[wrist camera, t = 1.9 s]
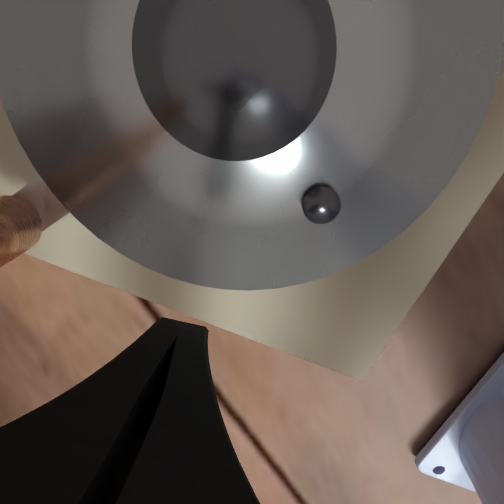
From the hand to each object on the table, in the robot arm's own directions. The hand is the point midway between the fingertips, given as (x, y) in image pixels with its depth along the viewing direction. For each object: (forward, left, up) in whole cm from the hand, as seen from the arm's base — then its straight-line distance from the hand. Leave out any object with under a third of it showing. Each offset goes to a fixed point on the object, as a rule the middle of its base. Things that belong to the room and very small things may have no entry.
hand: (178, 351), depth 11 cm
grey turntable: (+2, -6, -2) cm, 7 cm away
